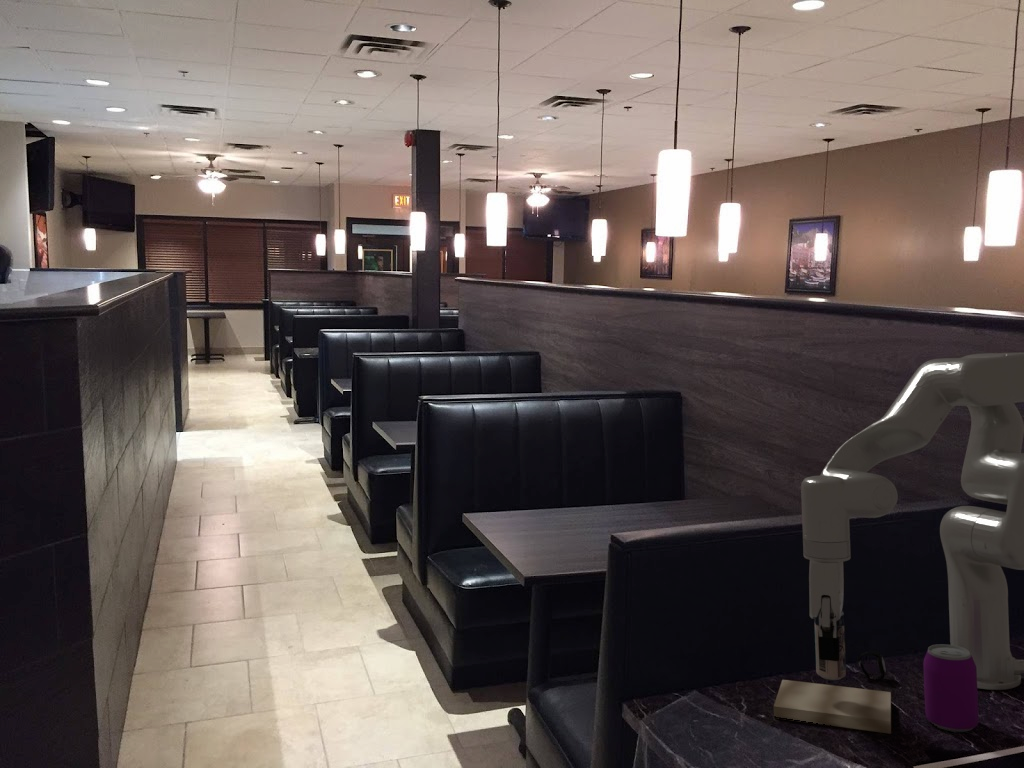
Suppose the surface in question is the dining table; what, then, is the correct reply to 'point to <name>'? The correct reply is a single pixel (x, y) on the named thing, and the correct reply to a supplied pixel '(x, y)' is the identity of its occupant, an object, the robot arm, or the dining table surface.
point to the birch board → (834, 705)
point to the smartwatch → (879, 659)
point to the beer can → (827, 667)
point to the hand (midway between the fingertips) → (830, 653)
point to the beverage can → (950, 688)
